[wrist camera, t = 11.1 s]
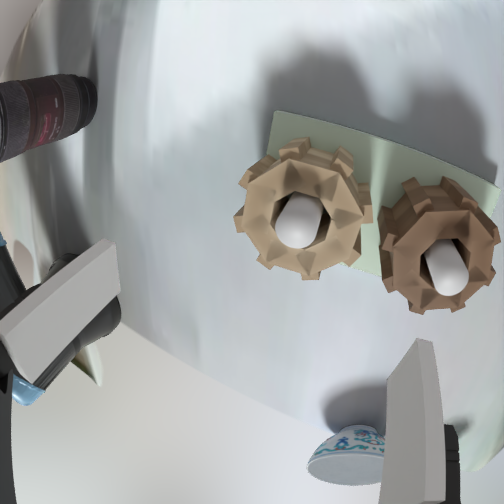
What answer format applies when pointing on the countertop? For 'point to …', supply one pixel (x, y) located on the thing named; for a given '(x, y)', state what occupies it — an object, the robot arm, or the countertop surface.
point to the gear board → (374, 192)
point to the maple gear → (312, 183)
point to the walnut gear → (425, 234)
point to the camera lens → (43, 111)
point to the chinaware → (350, 457)
